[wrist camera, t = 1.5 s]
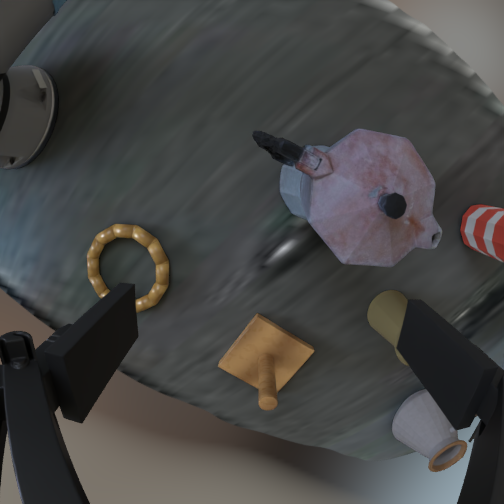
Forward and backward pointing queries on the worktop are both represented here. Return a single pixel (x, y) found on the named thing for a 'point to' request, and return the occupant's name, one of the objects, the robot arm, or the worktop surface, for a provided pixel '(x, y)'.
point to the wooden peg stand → (266, 358)
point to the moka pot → (359, 194)
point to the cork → (388, 316)
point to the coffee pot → (428, 431)
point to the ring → (143, 239)
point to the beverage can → (484, 230)
